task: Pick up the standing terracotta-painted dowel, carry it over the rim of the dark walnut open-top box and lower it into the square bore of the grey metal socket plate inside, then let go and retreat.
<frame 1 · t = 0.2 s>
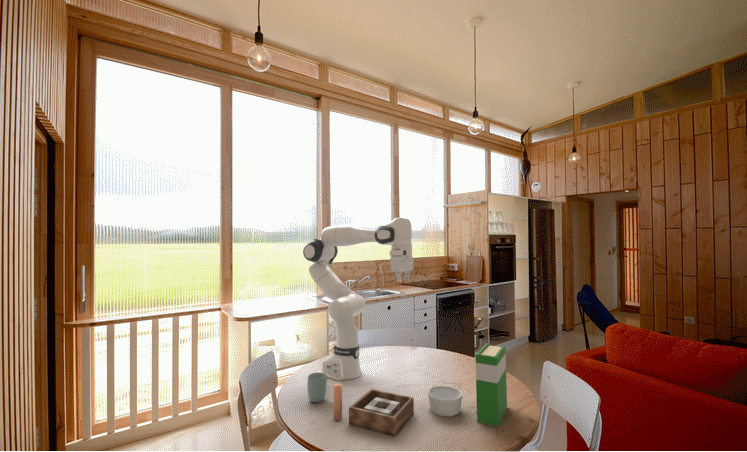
hand: (402, 281, 160), 48 cm above the table, fingers open, 8 cm apart
box: (382, 419, 125), on the table
cup: (317, 400, 141), on the table
peg: (337, 418, 126), on the table
ramekin: (445, 411, 132), on the table
hardback book: (492, 414, 129), on the table
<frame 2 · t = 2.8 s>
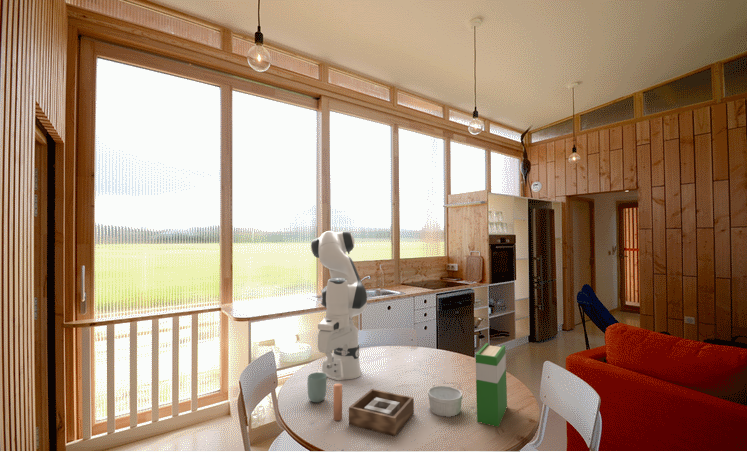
hand: (337, 358, 127), 22 cm above the table, fingers open, 8 cm apart
nothing on the table moved.
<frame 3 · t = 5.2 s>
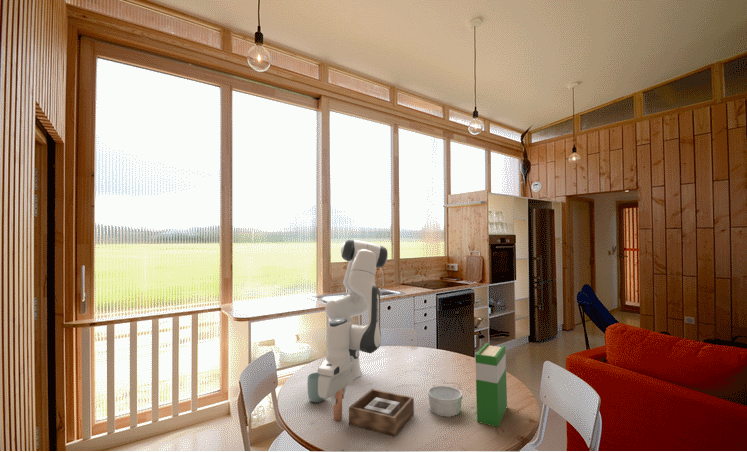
hand: (337, 401, 126), 6 cm above the table, fingers closed on peg, 3 cm apart
peg: (337, 418, 126), on the table, touching gripper
everything else where it was.
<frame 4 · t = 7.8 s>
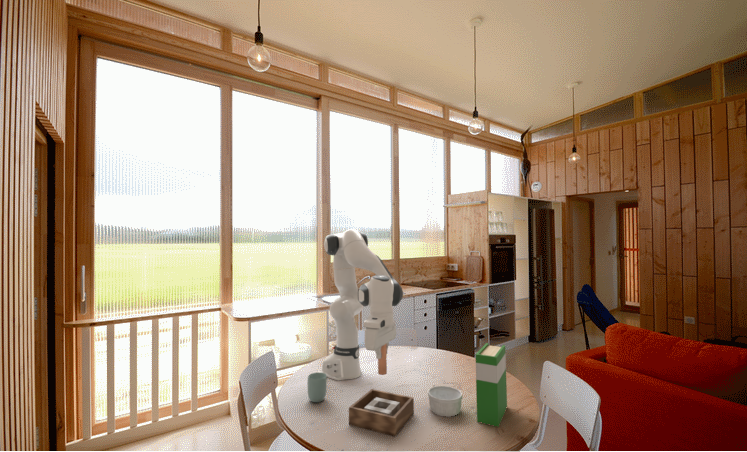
hand: (381, 356, 127), 23 cm above the table, fingers closed on peg, 3 cm apart
peg: (382, 373, 126), point 16 cm above the table, touching gripper
everything else where it was.
when the fingers open (8 cm above the table, at t = 10.3 s): peg stays where it is, resting on box.
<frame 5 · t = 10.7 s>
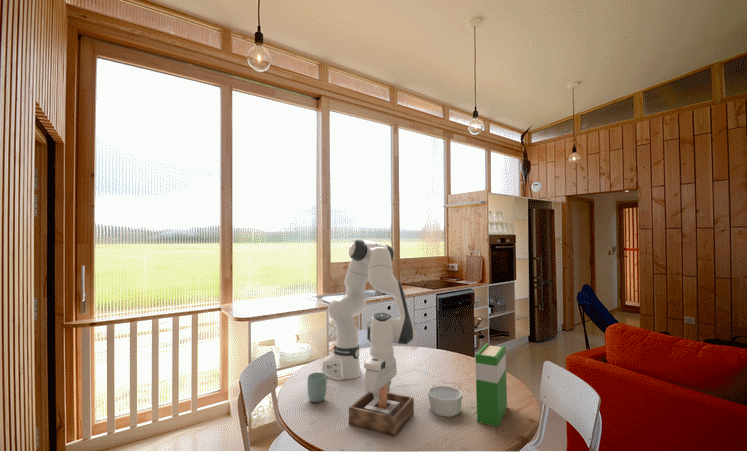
hand: (382, 396, 126), 8 cm above the table, fingers open, 7 cm apart
peg: (382, 416, 125), point 1 cm above the table, touching box
everything else where it was.
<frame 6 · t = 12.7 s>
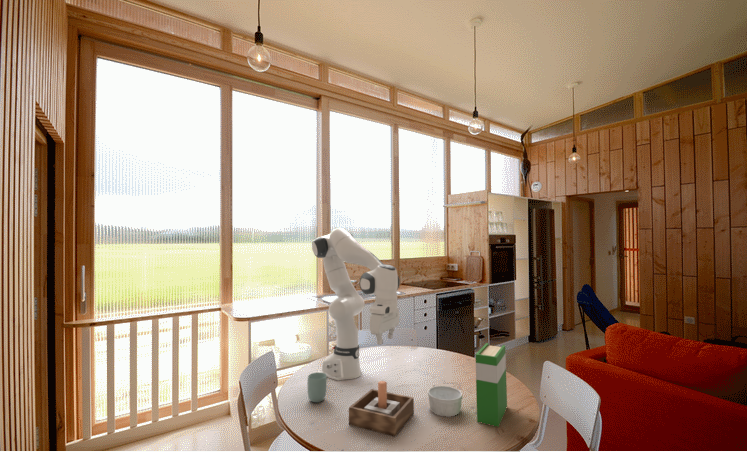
hand: (385, 341, 134), 26 cm above the table, fingers open, 8 cm apart
nothing on the table moved.
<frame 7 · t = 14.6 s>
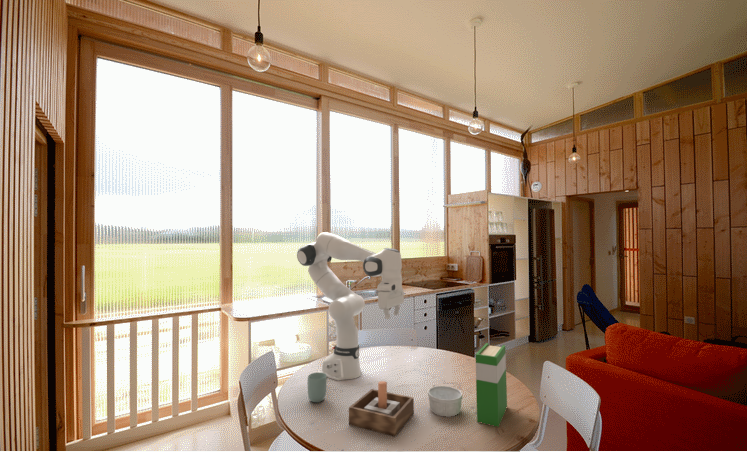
hand: (392, 316, 149), 33 cm above the table, fingers open, 8 cm apart
nothing on the table moved.
at the end: peg 0.1 cm off-centre on the box, point 1.0 cm above the box's base; peg tilted 1°; the gripper is holding nothing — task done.
